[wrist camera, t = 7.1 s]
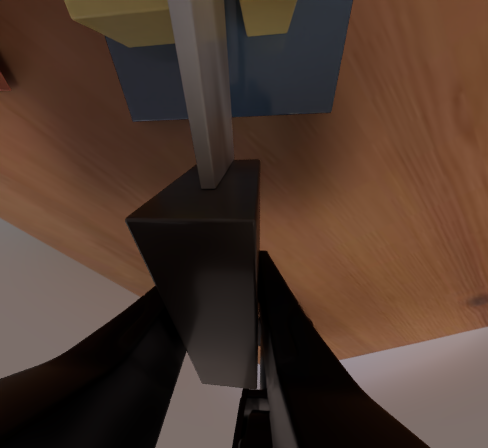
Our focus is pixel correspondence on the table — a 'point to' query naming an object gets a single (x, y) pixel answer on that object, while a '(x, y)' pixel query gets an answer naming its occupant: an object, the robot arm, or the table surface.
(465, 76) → the table surface
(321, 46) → the butter dish
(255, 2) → the butter slice
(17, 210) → the table surface
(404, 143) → the table surface
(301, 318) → the robot arm
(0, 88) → the teapot
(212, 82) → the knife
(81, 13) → the butter block
